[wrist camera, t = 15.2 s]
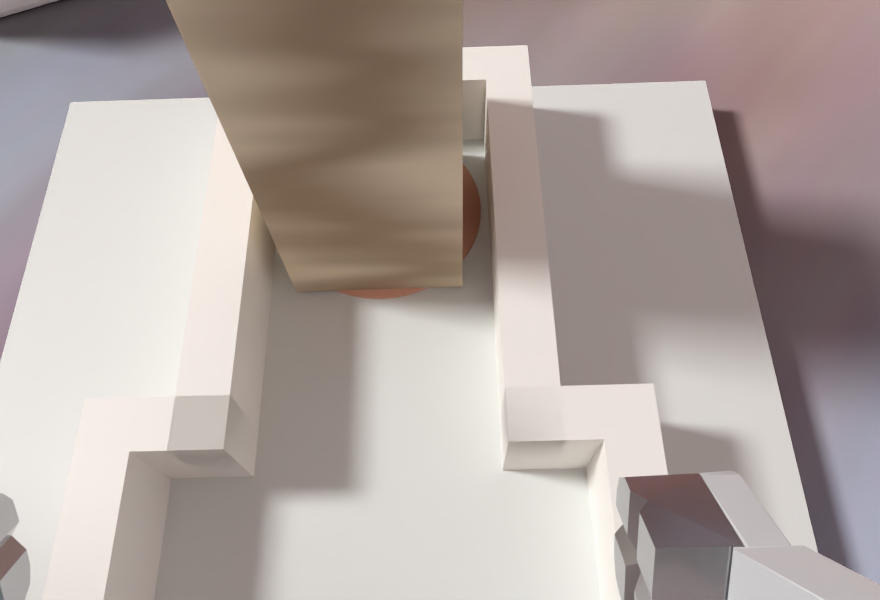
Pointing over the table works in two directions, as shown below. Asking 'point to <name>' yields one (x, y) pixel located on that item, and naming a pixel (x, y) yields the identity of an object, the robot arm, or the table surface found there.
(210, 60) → the beech peg
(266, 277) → the keyhole dock
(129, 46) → the table surface
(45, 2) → the medicine bottle
